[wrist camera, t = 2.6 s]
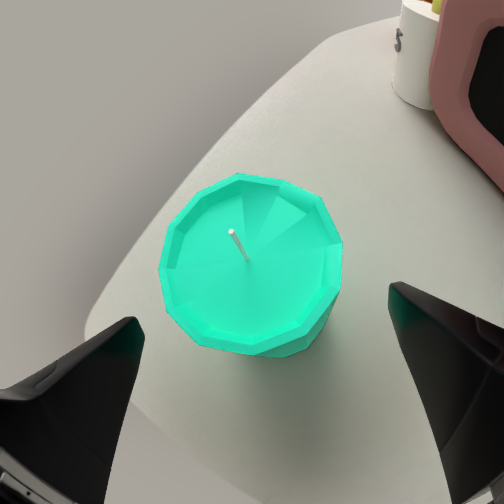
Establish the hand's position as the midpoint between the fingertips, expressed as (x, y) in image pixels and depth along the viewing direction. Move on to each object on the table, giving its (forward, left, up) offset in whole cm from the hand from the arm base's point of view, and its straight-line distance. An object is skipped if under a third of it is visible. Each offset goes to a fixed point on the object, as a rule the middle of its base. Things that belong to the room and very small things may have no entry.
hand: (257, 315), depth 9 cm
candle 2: (+23, -17, -9) cm, 30 cm away
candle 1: (+2, 0, -9) cm, 9 cm away
